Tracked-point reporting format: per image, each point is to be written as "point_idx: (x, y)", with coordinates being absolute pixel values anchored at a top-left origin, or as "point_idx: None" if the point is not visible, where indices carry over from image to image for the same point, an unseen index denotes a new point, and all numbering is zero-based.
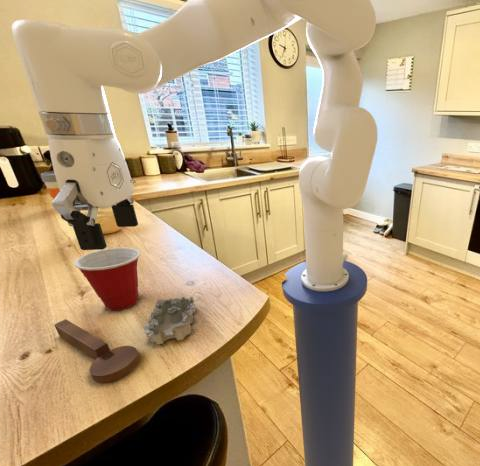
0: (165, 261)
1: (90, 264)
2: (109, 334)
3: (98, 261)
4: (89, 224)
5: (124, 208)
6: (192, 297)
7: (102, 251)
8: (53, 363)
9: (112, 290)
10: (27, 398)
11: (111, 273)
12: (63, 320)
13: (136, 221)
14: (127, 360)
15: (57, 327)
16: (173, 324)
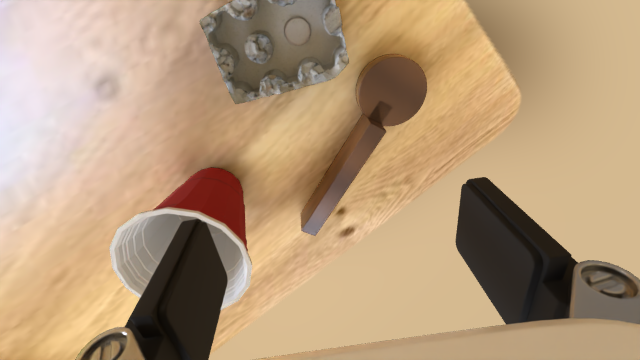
0: (33, 205)
1: None
2: (307, 154)
3: None
4: (624, 273)
5: (184, 325)
6: (200, 22)
7: None
8: (366, 188)
9: (238, 205)
10: (425, 171)
11: (230, 224)
12: (305, 231)
13: (186, 231)
14: (398, 67)
15: (320, 227)
16: (278, 43)
